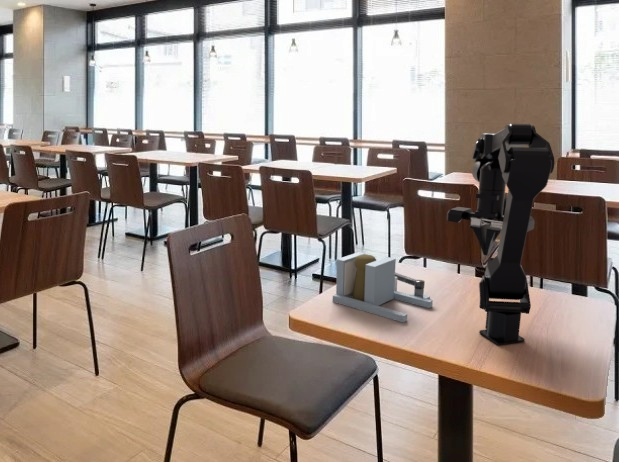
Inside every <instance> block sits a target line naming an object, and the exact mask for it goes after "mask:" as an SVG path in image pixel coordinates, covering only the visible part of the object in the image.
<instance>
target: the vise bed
mask: <svg viewBox="0 0 619 462" xmlns="http://www.w3.org/2000/svg"><path fill="white" fill-rule="evenodd" d="M359 255H366V253H365V252H361V251H357V252H355V253H352V254H348V255H346V256H343V257H340V258H337V259H336V280H335V281H336V283H335V284H336V287H335V288H336V289H335V294H332V302H333V303H337V304H340V305H344V306H346V307H350V308H353V309H357V310H359V311H364V312H365V313H366V312H367V313H371V314H373V315H376V316H380V317H383V318H387V319H389V320H393V321H397V322H400V323H405V322H407V321H408V313H406V312H405V313H404V312H401V311H398V310H396V309H395V310H394V309H391V308H387V307H383V306H382V305H379V306H377V305H374V304H370V303H367V302H363V301H360V300H356V299H353V298H352V295H353V289H354V283H355V277H356V271H357V268H356V266H355V259H356V257H357V256H359ZM413 290H414V293H412V294H409V293H406V292H401V291H398V280H397V277H395V285H394V299H393V300H398V301H401V302H405V303H408V304H412V305H415V306H420V307H422V308H428V309H431V308H432V307H433V300H432V299H431V295H426V294H424V290H425V287H424V288H423V289H417V288H415V287H414V289H413Z"/></svg>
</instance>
